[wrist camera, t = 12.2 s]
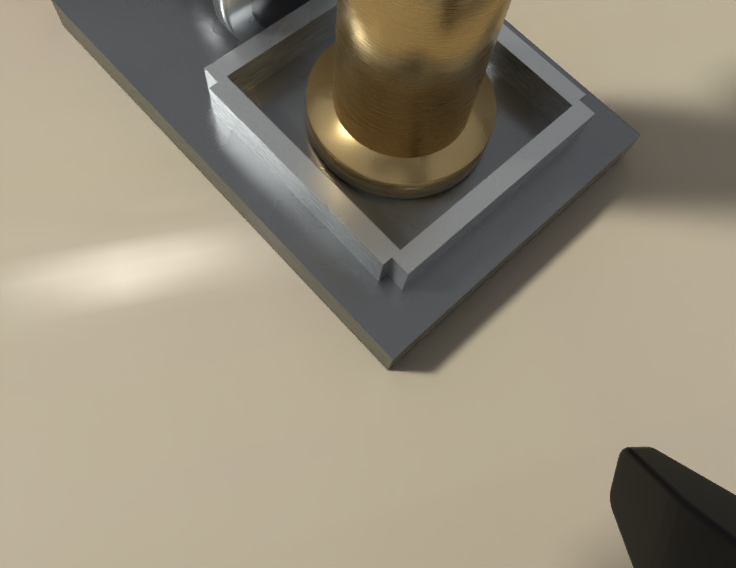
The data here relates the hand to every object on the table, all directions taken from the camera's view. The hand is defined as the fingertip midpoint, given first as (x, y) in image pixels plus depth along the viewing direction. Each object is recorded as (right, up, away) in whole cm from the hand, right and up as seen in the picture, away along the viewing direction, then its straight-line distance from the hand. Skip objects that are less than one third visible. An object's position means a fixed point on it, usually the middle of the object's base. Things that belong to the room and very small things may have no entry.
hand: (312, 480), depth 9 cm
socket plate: (0, +11, +19) cm, 22 cm away
